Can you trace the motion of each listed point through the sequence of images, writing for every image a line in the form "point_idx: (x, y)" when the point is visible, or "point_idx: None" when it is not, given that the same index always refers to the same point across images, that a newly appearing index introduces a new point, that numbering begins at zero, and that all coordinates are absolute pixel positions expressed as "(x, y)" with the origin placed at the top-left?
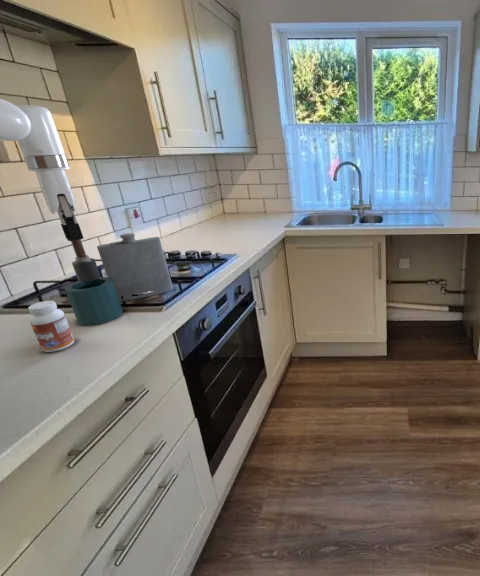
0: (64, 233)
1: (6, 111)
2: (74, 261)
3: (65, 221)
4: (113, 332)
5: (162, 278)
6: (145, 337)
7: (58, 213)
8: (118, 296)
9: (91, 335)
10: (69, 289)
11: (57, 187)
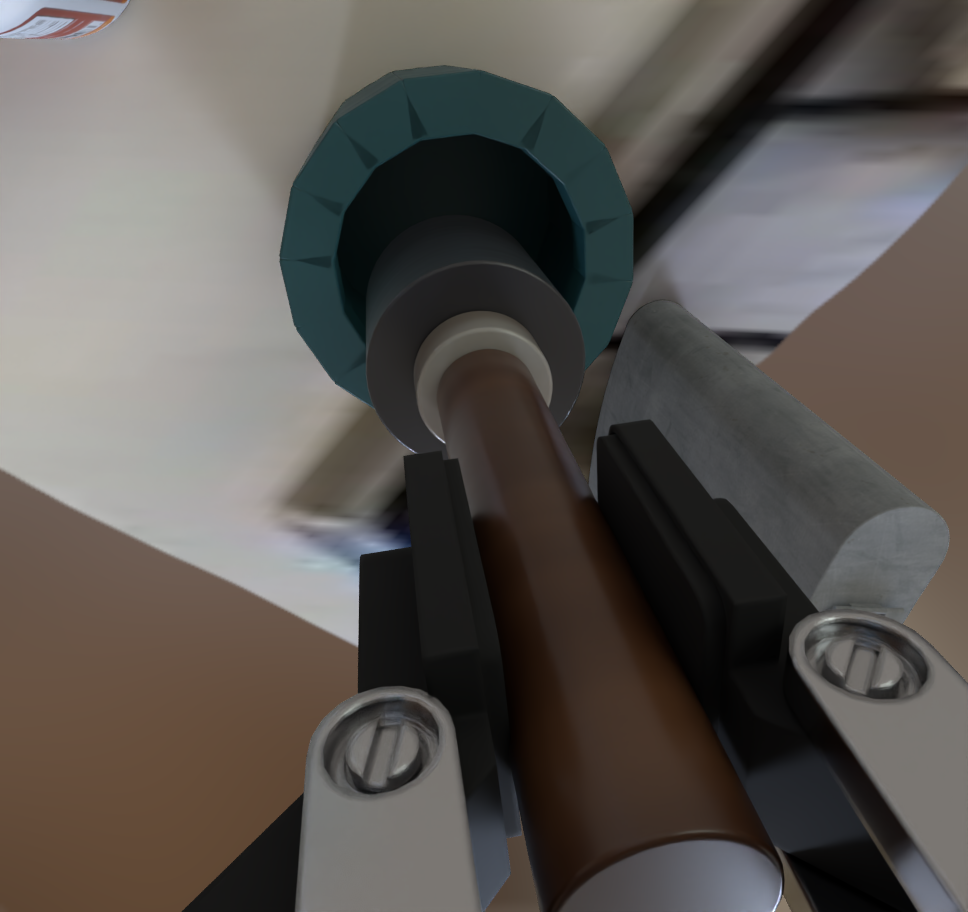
0: (649, 470)
1: None
2: (536, 287)
3: (241, 874)
4: (103, 263)
5: None
6: None
7: (963, 907)
8: (638, 338)
9: (128, 140)
10: (408, 113)
11: None
